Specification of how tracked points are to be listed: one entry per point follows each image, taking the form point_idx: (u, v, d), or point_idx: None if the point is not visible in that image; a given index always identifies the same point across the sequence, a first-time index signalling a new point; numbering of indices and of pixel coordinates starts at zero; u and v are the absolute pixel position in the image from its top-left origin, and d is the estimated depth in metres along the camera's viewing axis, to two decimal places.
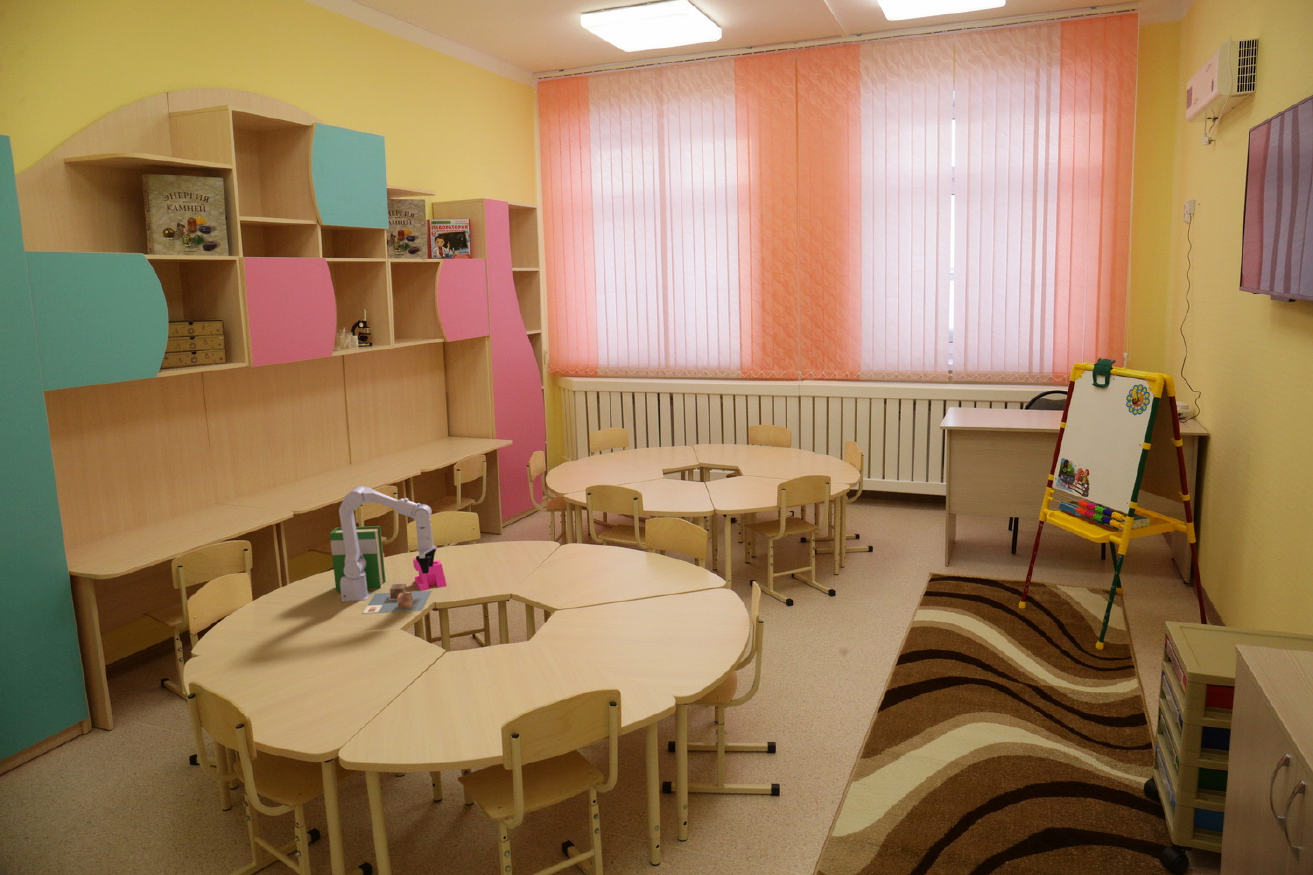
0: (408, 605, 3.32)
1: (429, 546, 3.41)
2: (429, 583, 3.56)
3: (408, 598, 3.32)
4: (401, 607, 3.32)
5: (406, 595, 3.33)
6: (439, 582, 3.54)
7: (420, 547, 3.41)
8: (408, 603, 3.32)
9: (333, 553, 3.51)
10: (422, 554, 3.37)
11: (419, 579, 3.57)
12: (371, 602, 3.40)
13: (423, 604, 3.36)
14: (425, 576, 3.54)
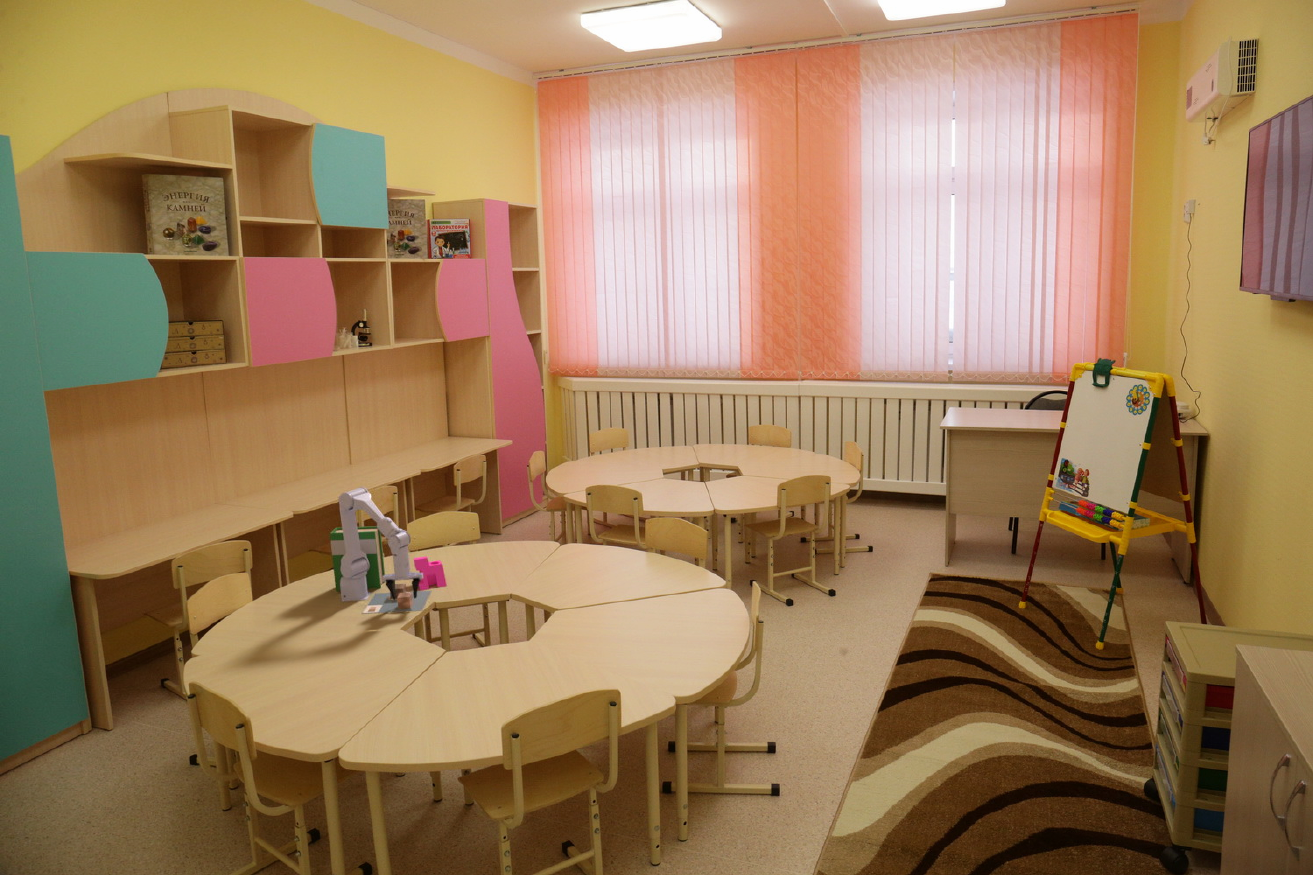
0: (408, 605, 3.32)
1: (395, 574, 3.30)
2: (429, 583, 3.56)
3: (408, 598, 3.32)
4: (401, 607, 3.32)
5: (406, 595, 3.33)
6: (439, 582, 3.54)
7: None
8: (408, 603, 3.32)
9: (333, 553, 3.51)
10: None
11: None
12: (371, 602, 3.40)
13: (423, 604, 3.36)
14: (425, 576, 3.54)
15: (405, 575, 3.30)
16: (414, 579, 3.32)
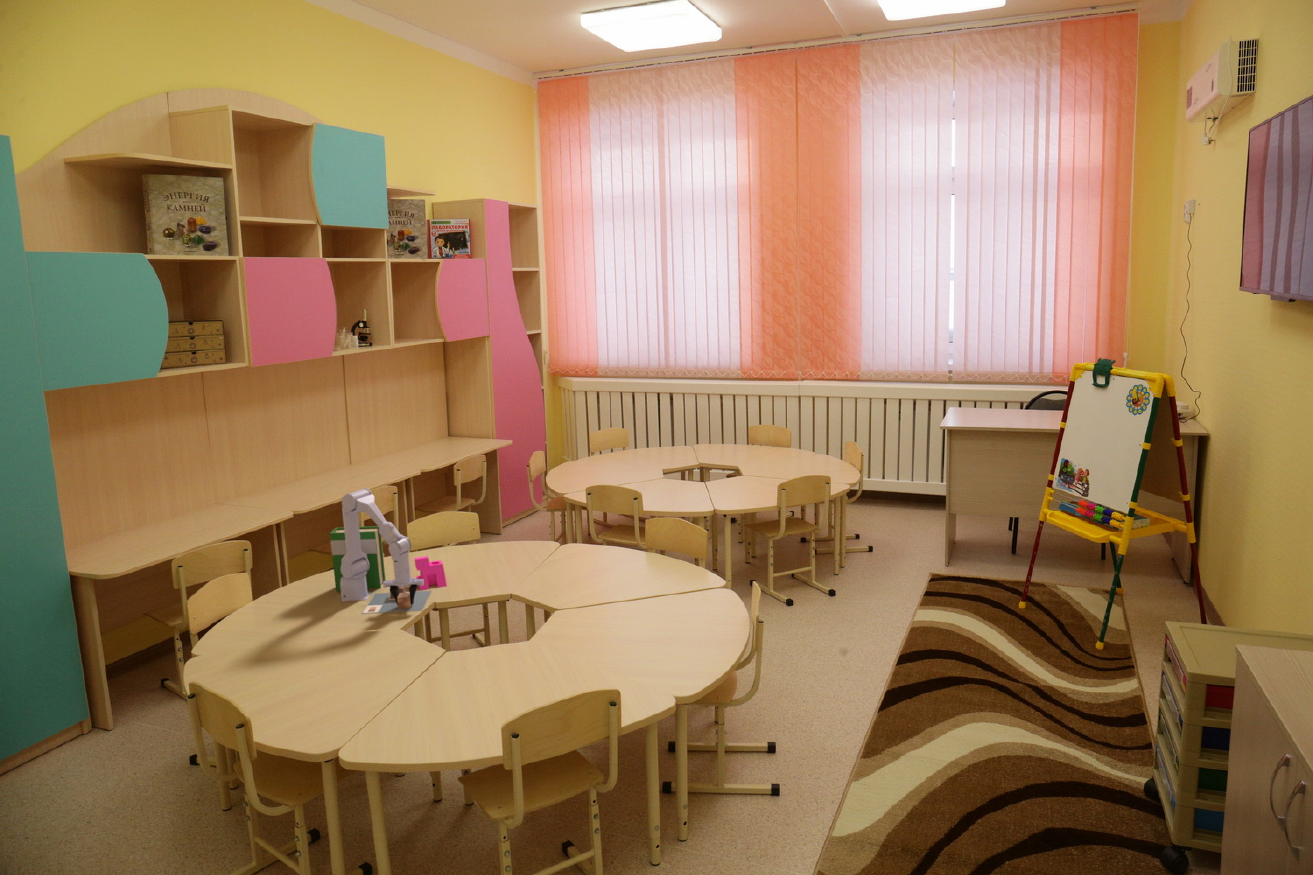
0: (408, 605, 3.32)
1: (396, 581, 3.31)
2: (430, 583, 3.56)
3: (408, 598, 3.32)
4: (401, 607, 3.32)
5: (406, 595, 3.33)
6: (440, 582, 3.54)
7: None
8: (408, 603, 3.32)
9: (333, 553, 3.51)
10: None
11: None
12: (371, 602, 3.40)
13: (423, 604, 3.36)
14: (426, 576, 3.54)
15: (406, 581, 3.30)
16: (414, 585, 3.33)
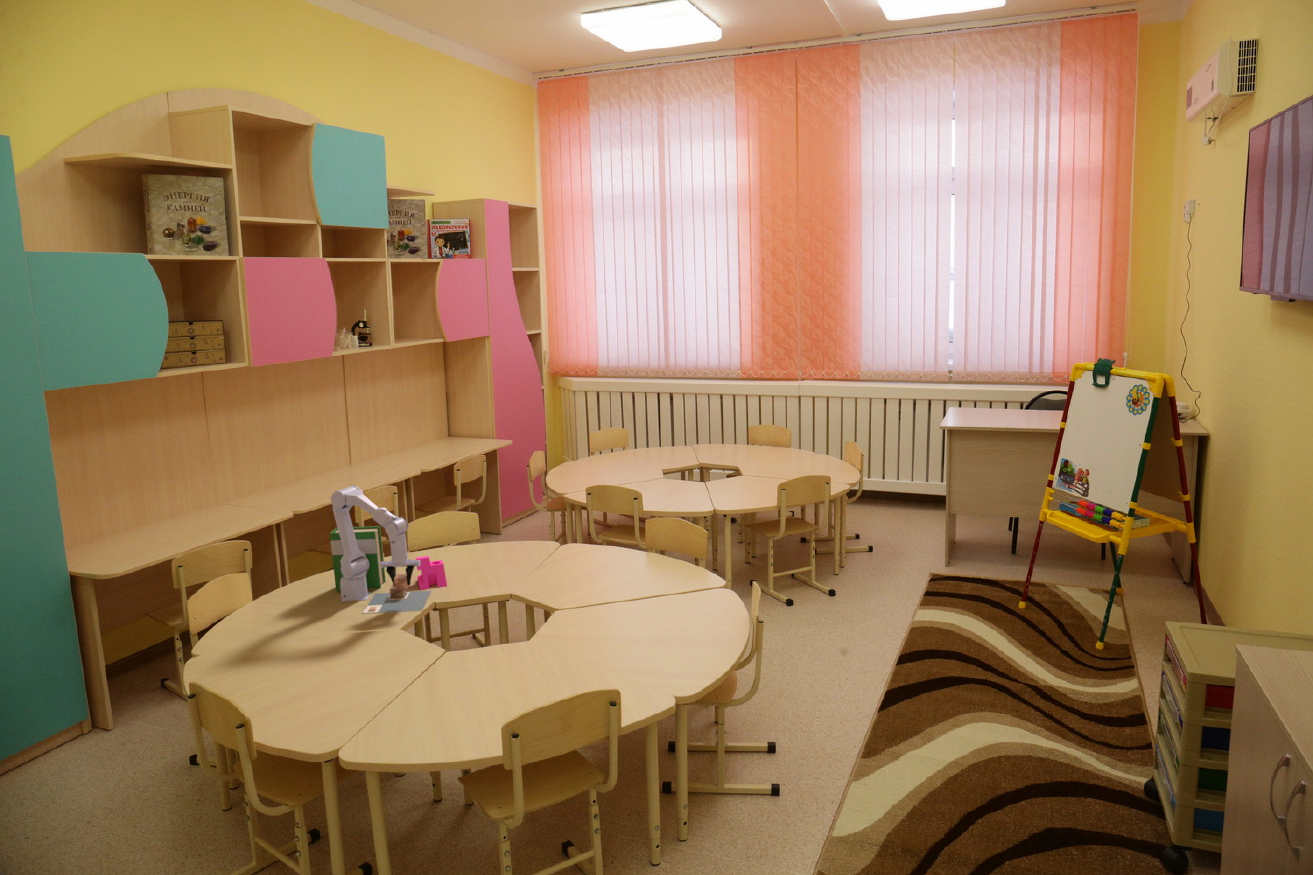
0: (405, 586, 3.33)
1: (392, 561, 3.31)
2: (430, 583, 3.56)
3: (405, 579, 3.32)
4: (398, 588, 3.33)
5: (403, 576, 3.34)
6: (440, 582, 3.54)
7: None
8: (405, 584, 3.33)
9: (333, 553, 3.51)
10: None
11: (421, 578, 3.58)
12: (371, 602, 3.40)
13: (423, 604, 3.36)
14: (426, 576, 3.54)
15: (402, 562, 3.31)
16: (411, 566, 3.33)
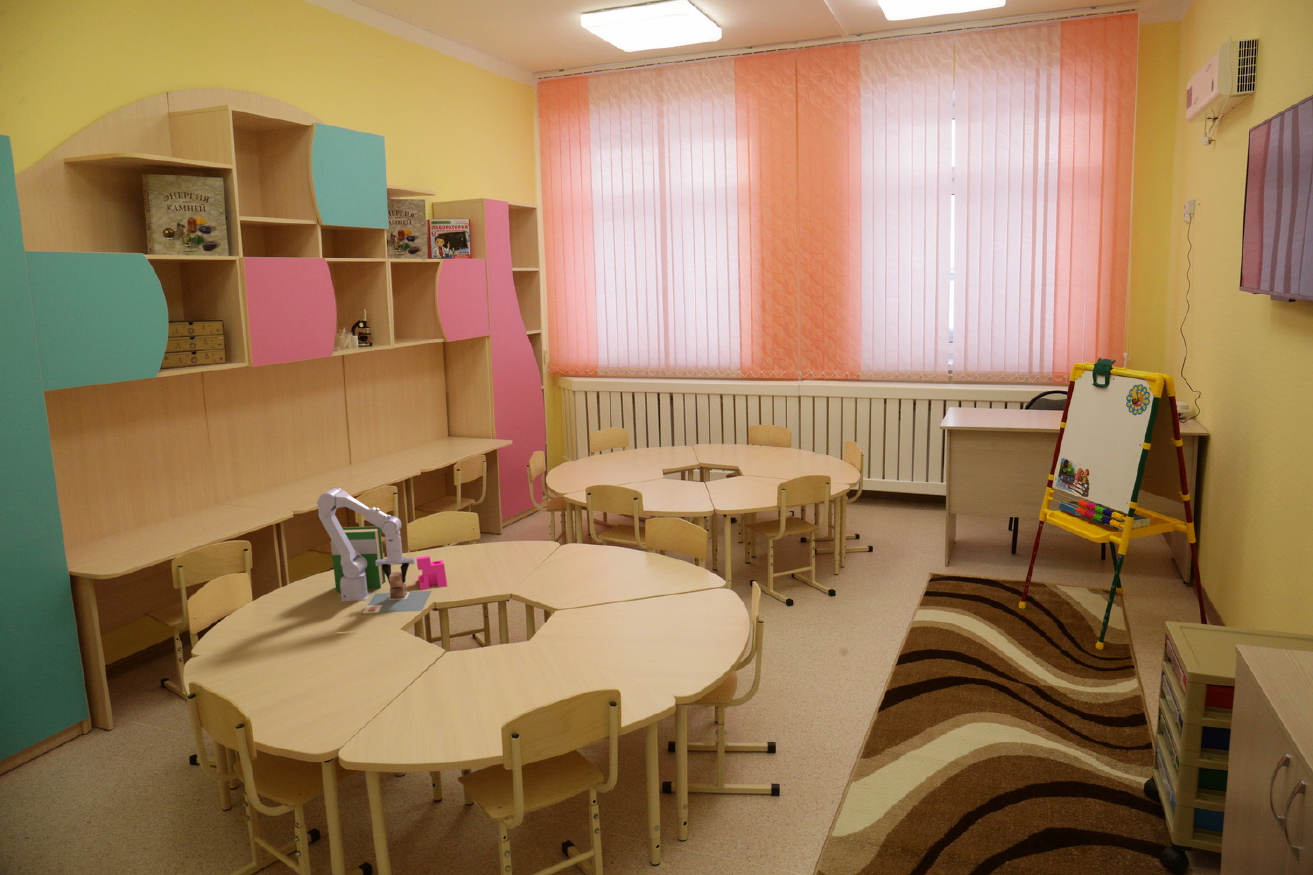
0: (400, 584, 3.42)
1: (388, 559, 3.40)
2: (431, 583, 3.56)
3: (400, 577, 3.41)
4: (393, 586, 3.42)
5: (398, 574, 3.43)
6: (440, 582, 3.54)
7: None
8: (400, 582, 3.42)
9: (333, 553, 3.51)
10: None
11: (421, 578, 3.58)
12: (371, 602, 3.40)
13: (423, 604, 3.36)
14: (426, 575, 3.55)
15: (397, 560, 3.40)
16: (406, 564, 3.42)
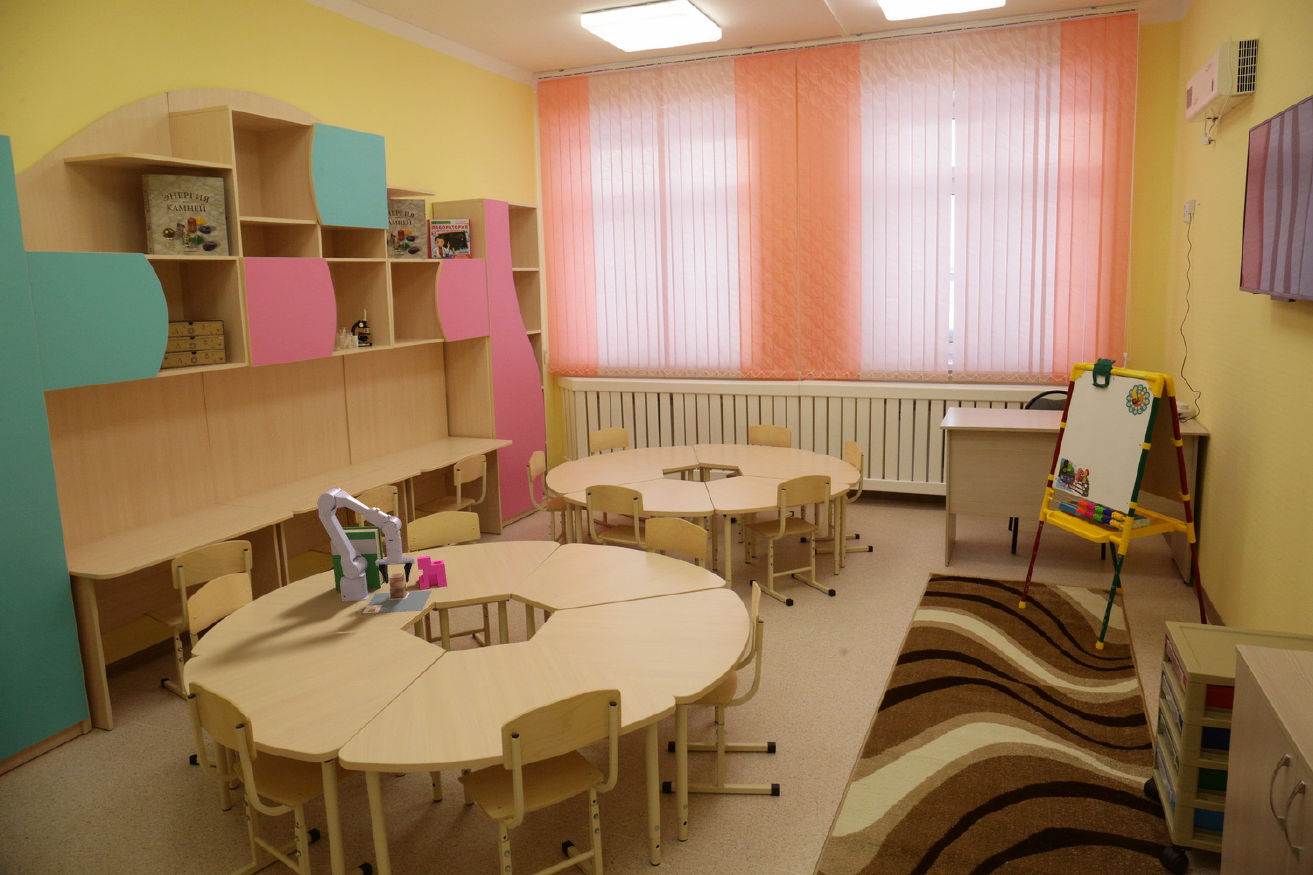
0: (400, 585, 3.42)
1: (388, 559, 3.40)
2: (431, 582, 3.56)
3: (400, 578, 3.41)
4: (393, 587, 3.42)
5: (398, 575, 3.43)
6: (440, 582, 3.54)
7: None
8: (400, 583, 3.42)
9: (333, 553, 3.51)
10: None
11: (422, 578, 3.58)
12: (371, 602, 3.40)
13: (423, 604, 3.36)
14: (427, 575, 3.55)
15: (397, 560, 3.40)
16: (406, 564, 3.42)
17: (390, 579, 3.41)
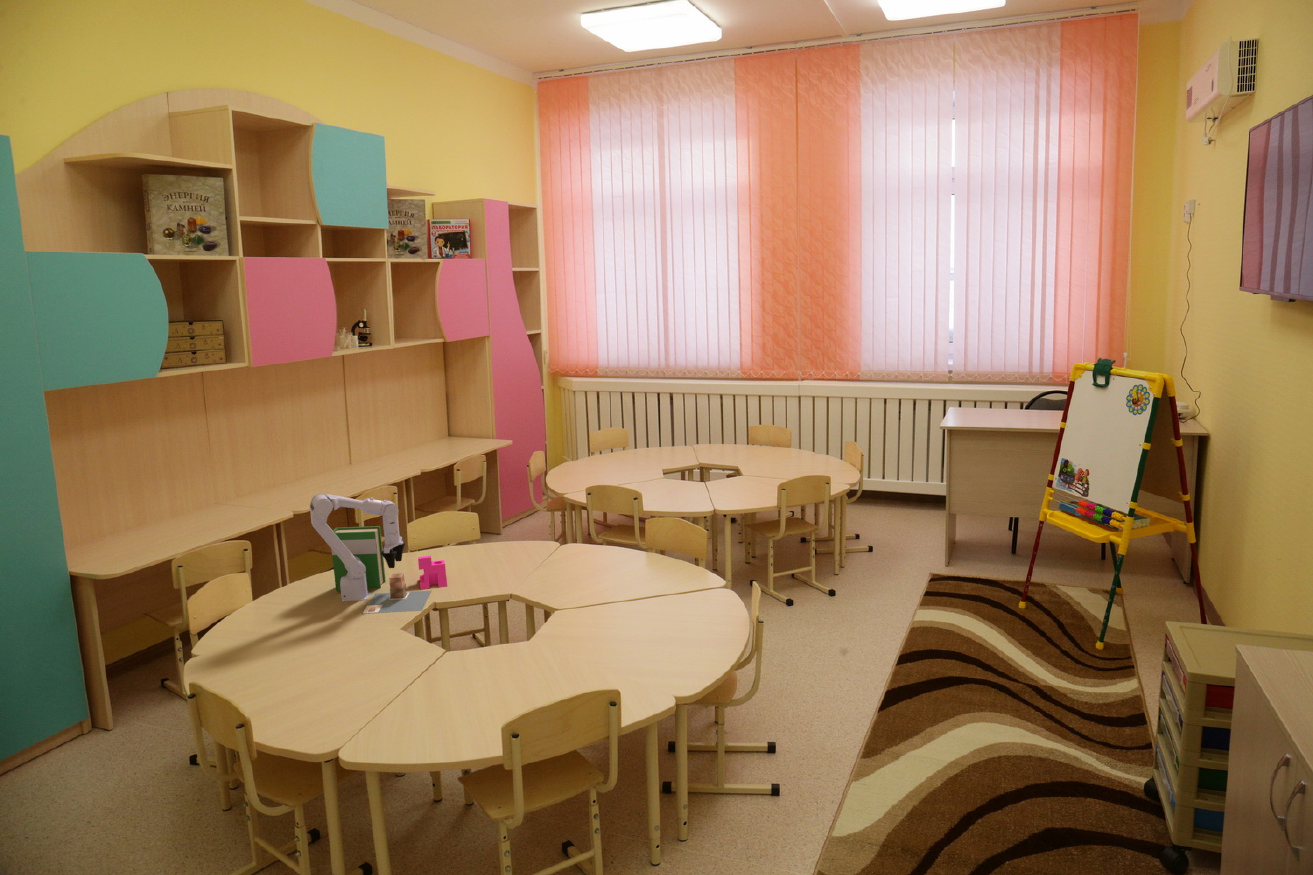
0: (400, 585, 3.42)
1: (395, 542, 3.47)
2: (431, 582, 3.56)
3: (400, 578, 3.41)
4: (393, 587, 3.42)
5: (398, 575, 3.43)
6: (440, 582, 3.54)
7: (386, 542, 3.47)
8: (400, 583, 3.42)
9: (333, 553, 3.51)
10: (386, 549, 3.43)
11: (422, 578, 3.58)
12: (371, 602, 3.40)
13: (423, 604, 3.36)
14: (427, 575, 3.55)
15: None
16: None
17: (390, 579, 3.41)
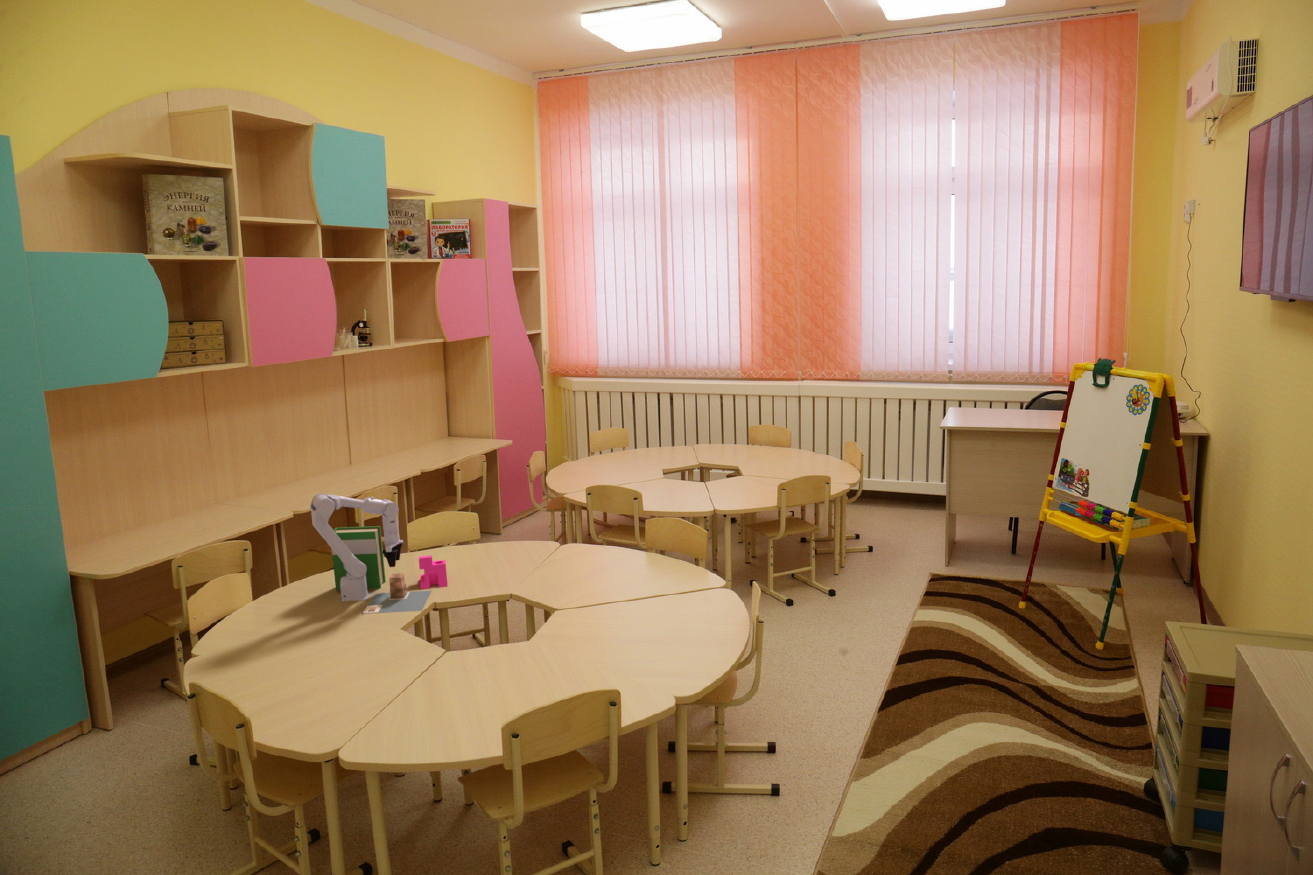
0: (400, 585, 3.42)
1: (395, 540, 3.49)
2: (432, 582, 3.56)
3: (400, 578, 3.41)
4: (393, 587, 3.42)
5: (398, 575, 3.43)
6: (441, 582, 3.54)
7: (387, 541, 3.48)
8: (400, 583, 3.42)
9: (333, 553, 3.51)
10: (389, 548, 3.44)
11: (423, 578, 3.58)
12: (371, 602, 3.40)
13: (423, 604, 3.36)
14: (427, 575, 3.55)
15: None
16: None
17: (390, 579, 3.41)
